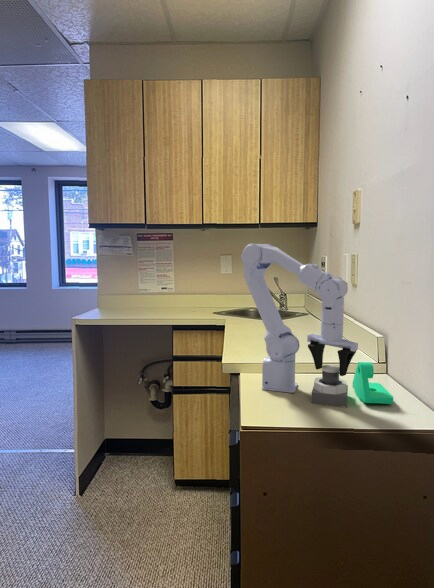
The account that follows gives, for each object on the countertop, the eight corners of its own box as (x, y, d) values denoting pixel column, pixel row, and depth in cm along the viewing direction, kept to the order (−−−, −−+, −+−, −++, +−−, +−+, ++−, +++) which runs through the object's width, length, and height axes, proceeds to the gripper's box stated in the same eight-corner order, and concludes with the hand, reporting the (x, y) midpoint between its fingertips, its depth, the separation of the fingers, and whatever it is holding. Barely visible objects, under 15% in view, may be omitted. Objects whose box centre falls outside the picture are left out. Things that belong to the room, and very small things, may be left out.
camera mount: (394, 407, 103) (395, 369, 102) (364, 406, 103) (365, 368, 102) (379, 391, 115) (380, 357, 114) (352, 390, 115) (353, 356, 114)
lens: (332, 392, 105) (333, 371, 104) (318, 388, 108) (318, 367, 108) (342, 388, 108) (343, 367, 107) (328, 384, 111) (328, 363, 110)
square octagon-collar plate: (311, 403, 105) (311, 385, 105) (314, 391, 114) (315, 375, 113) (346, 407, 102) (347, 388, 102) (347, 395, 111) (348, 378, 110)
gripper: (364, 324, 103) (362, 375, 104) (318, 317, 114) (316, 363, 115) (350, 328, 98) (348, 380, 100) (303, 320, 109) (302, 367, 111)
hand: (330, 371), depth 107 cm, fingers open, 7 cm apart
